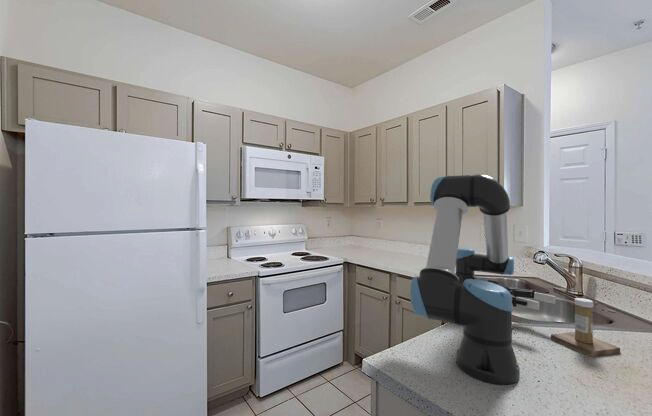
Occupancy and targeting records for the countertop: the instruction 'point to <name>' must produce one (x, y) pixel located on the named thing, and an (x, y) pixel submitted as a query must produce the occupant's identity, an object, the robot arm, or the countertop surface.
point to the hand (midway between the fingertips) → (547, 303)
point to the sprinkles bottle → (583, 320)
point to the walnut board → (585, 345)
